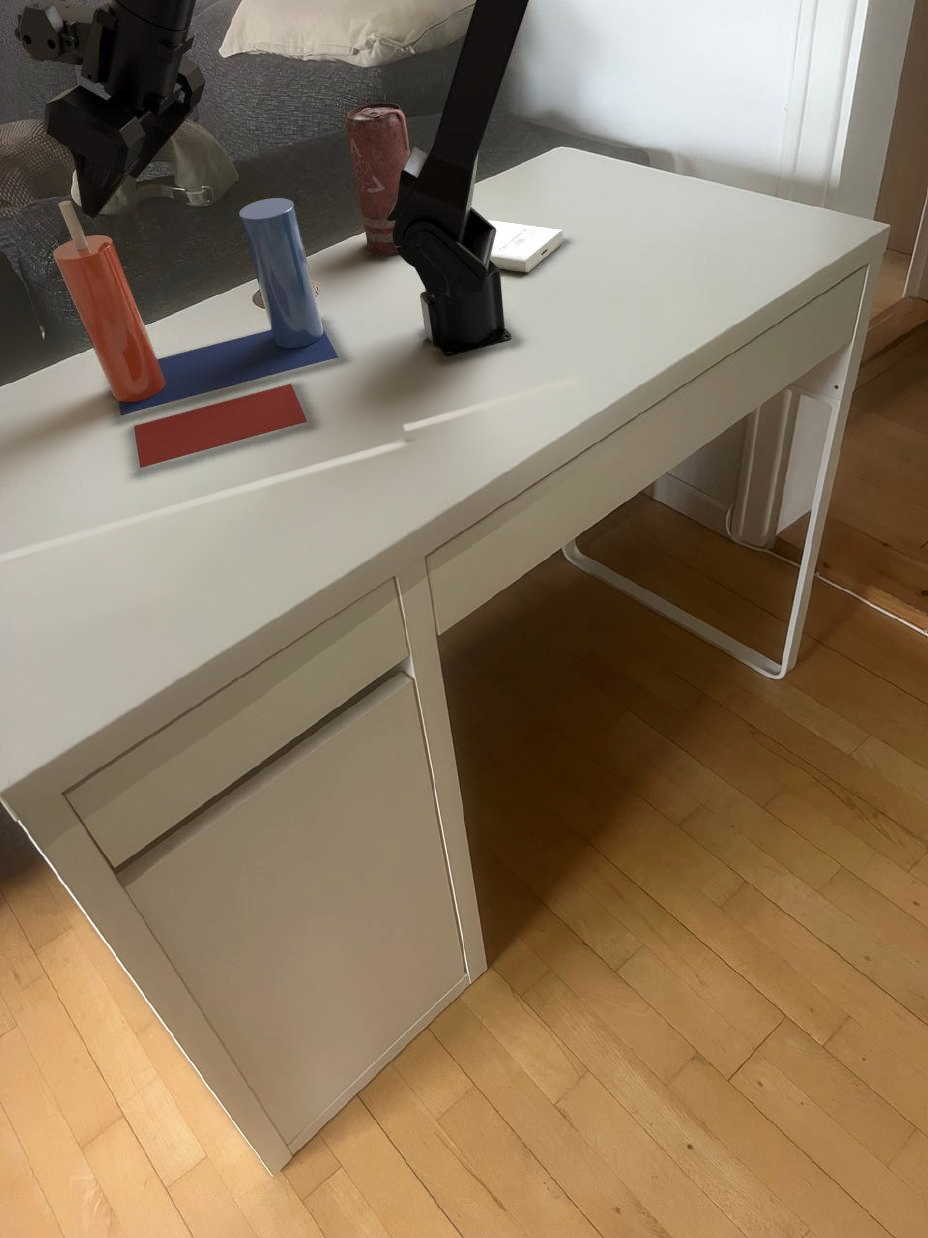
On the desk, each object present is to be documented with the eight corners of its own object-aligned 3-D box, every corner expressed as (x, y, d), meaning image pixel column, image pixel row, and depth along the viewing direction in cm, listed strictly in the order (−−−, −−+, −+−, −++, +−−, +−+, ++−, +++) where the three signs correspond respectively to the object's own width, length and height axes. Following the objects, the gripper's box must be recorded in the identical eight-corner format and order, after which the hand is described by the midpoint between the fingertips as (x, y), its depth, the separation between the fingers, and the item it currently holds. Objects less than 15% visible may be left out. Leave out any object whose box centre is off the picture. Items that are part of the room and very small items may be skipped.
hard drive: (465, 229, 102) (563, 242, 97) (426, 259, 98) (526, 274, 92) (464, 214, 101) (563, 226, 96) (423, 244, 96) (525, 258, 91)
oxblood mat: (292, 388, 81) (290, 383, 80) (308, 425, 76) (307, 420, 75) (136, 430, 78) (134, 425, 78) (142, 472, 73) (140, 467, 73)
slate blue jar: (317, 320, 89) (287, 193, 80) (328, 340, 85) (298, 210, 77) (270, 332, 88) (235, 205, 80) (279, 353, 85) (243, 223, 76)
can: (418, 258, 98) (397, 117, 88) (362, 260, 99) (336, 121, 89) (430, 235, 102) (412, 98, 92) (377, 237, 103) (353, 102, 94)
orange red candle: (163, 369, 85) (93, 186, 73) (168, 393, 81) (96, 205, 70) (112, 383, 84) (34, 200, 72) (115, 407, 81) (33, 219, 69)
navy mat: (318, 322, 89) (317, 317, 89) (339, 361, 83) (338, 356, 83) (116, 374, 86) (114, 369, 86) (122, 419, 80) (120, 414, 80)
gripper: (97, -77, 72) (65, 110, 83) (-19, -30, 59) (-39, 185, 70) (228, 3, 75) (181, 174, 86) (145, 64, 62) (102, 257, 73)
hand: (111, 194), depth 78 cm, fingers open, 9 cm apart
